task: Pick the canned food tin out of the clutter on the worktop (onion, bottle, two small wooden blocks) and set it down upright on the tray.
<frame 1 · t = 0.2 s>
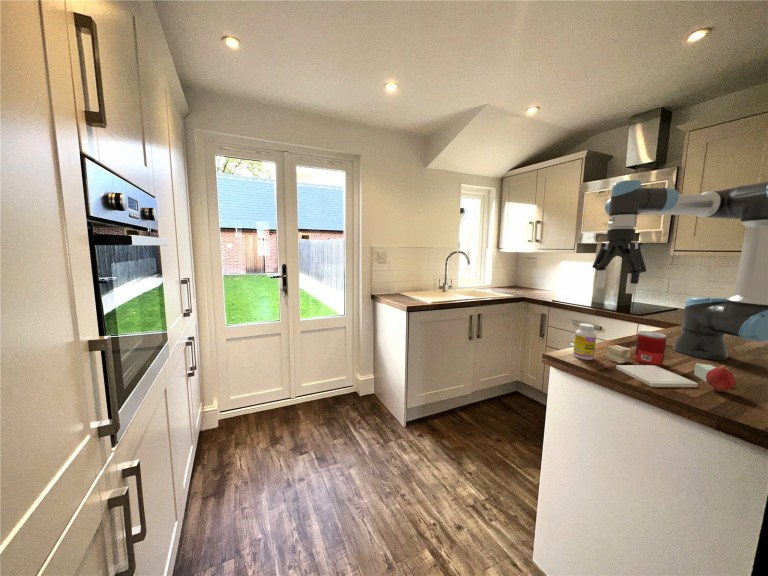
hand: (614, 290, 103), 27 cm above the worktop, fingers open, 13 cm apart
sage block: (707, 379, 97), on the worktop
supplement bottle: (583, 357, 115), on the worktop
canned food: (648, 362, 110), on the worktop
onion: (718, 391, 88), on the worktop
tray: (653, 377, 97), on the worktop
beech block: (617, 360, 112), on the worktop
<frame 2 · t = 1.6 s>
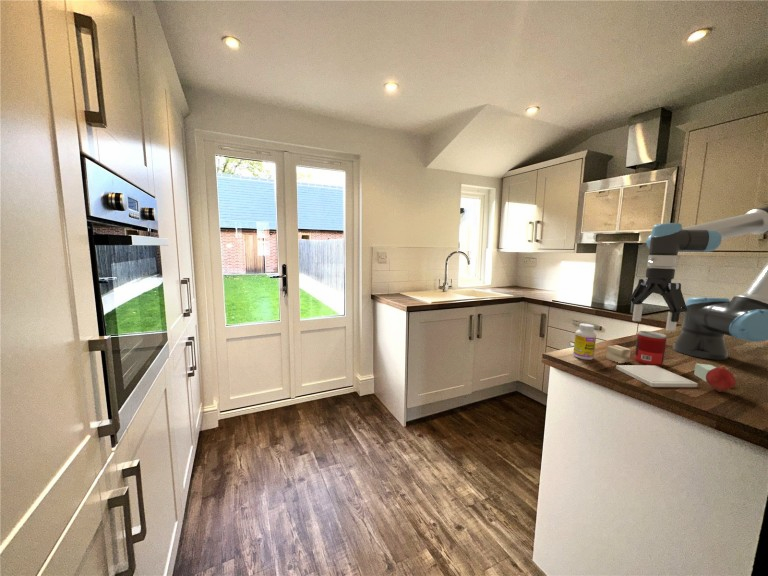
hand: (652, 325, 109), 14 cm above the worktop, fingers open, 13 cm apart
nothing on the worktop moved.
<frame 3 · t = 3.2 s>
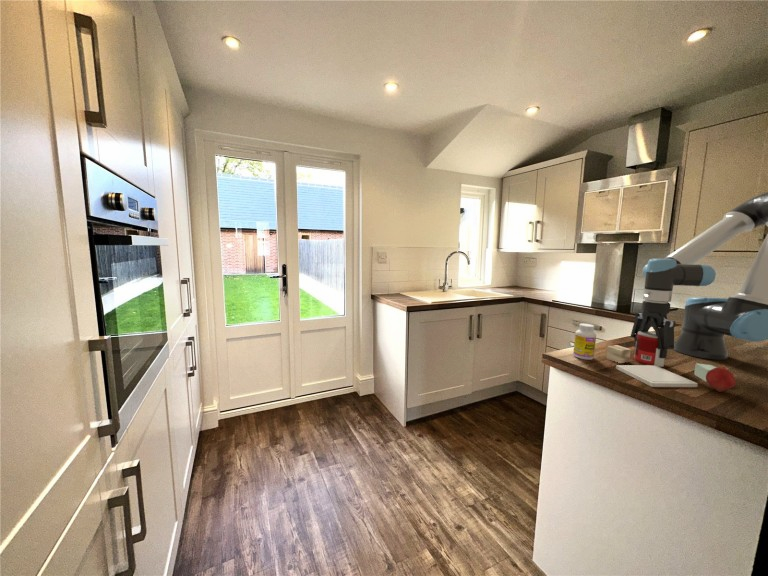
hand: (648, 361, 110), 0 cm above the worktop, fingers closed on canned food, 8 cm apart
canned food: (648, 362, 110), on the worktop, touching gripper
everything else where it was.
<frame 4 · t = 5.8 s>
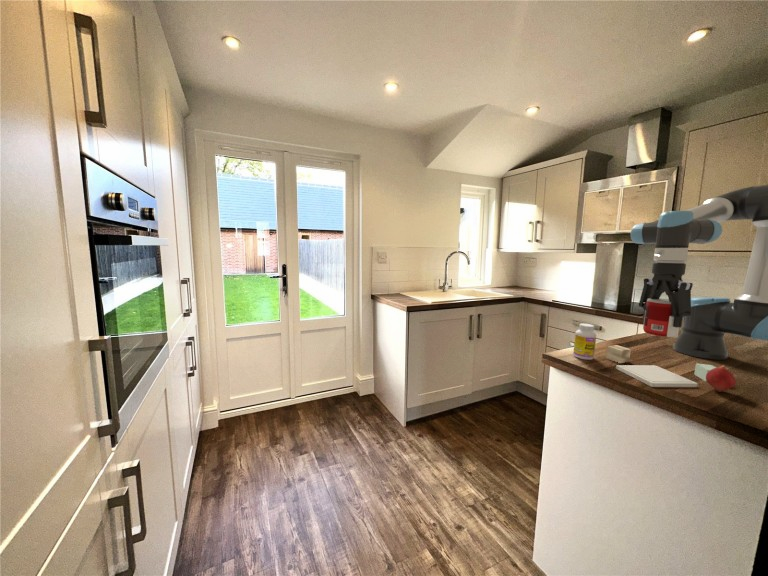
hand: (659, 332, 95), 15 cm above the worktop, fingers closed on canned food, 8 cm apart
canned food: (659, 334, 96), point 15 cm above the worktop, touching gripper
everything else where it was.
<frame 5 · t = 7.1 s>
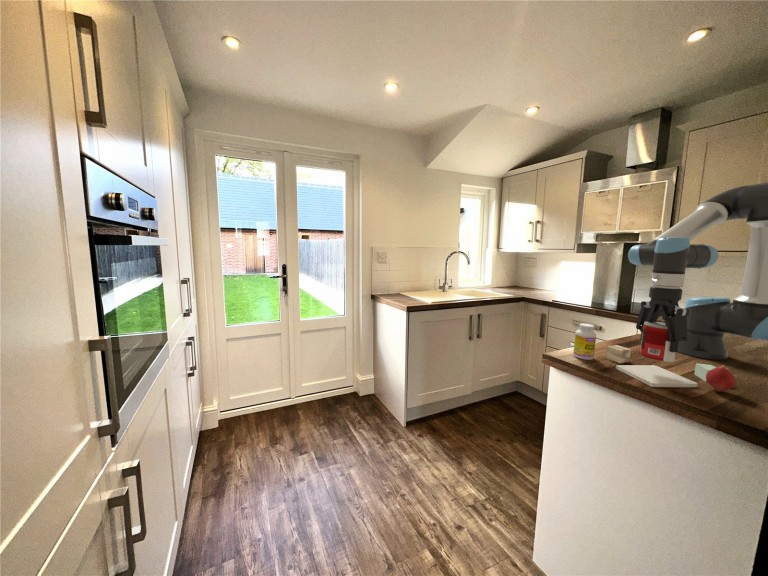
hand: (656, 356, 96), 7 cm above the worktop, fingers closed on canned food, 8 cm apart
canned food: (655, 357, 96), point 7 cm above the worktop, touching gripper
everything else where it was.
when the fingers open (3 cm above the worktop, at t = 8.3 s): canned food drops 1 cm, resting on tray.
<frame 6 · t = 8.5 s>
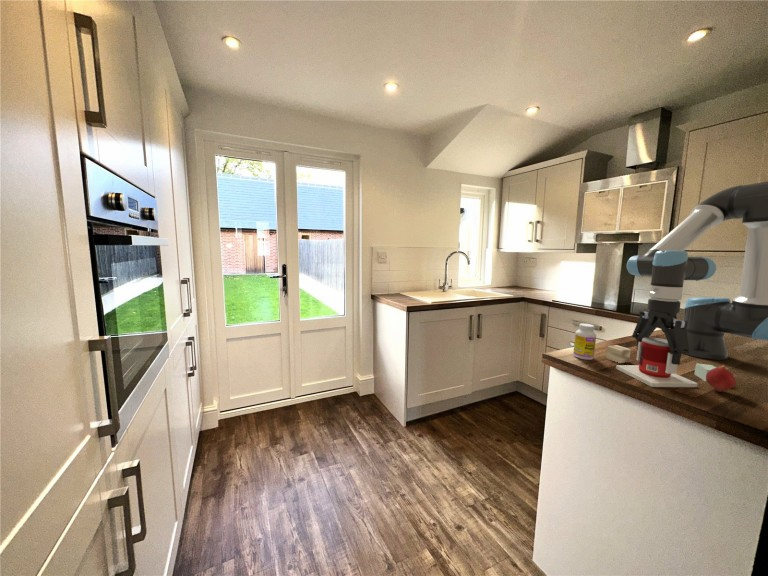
hand: (655, 366, 97), 4 cm above the worktop, fingers open, 10 cm apart
canned food: (654, 373, 97), point 1 cm above the worktop, touching tray
everything else where it was.
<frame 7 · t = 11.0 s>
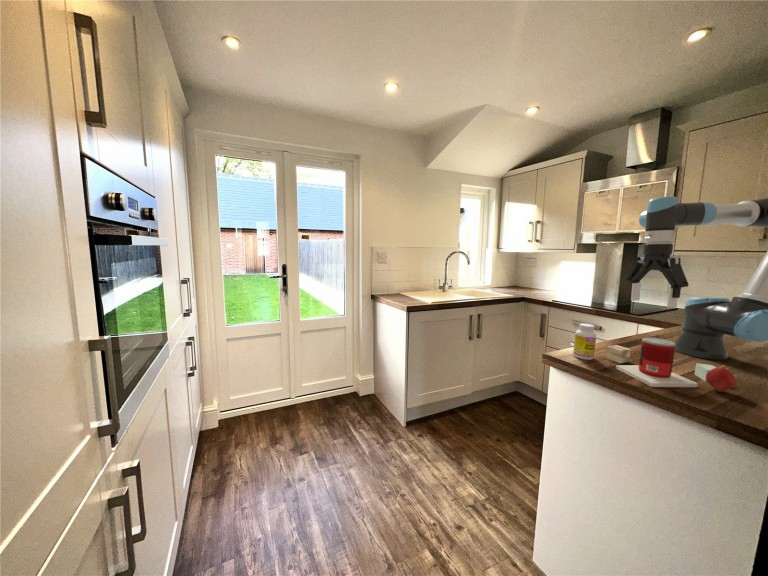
hand: (652, 303, 106), 23 cm above the worktop, fingers open, 13 cm apart
nothing on the worktop moved.
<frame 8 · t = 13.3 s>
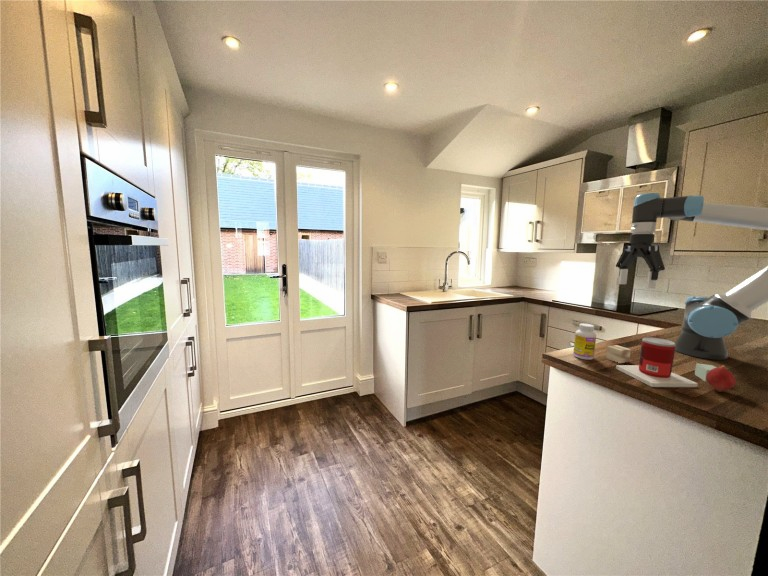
hand: (635, 286, 122), 27 cm above the worktop, fingers open, 13 cm apart
nothing on the worktop moved.
at the end: canned food inside the target area on the tray (0.0 cm from its centre), point 1.2 cm above the tray's base; canned food tilted 0°; the gripper is holding nothing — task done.
